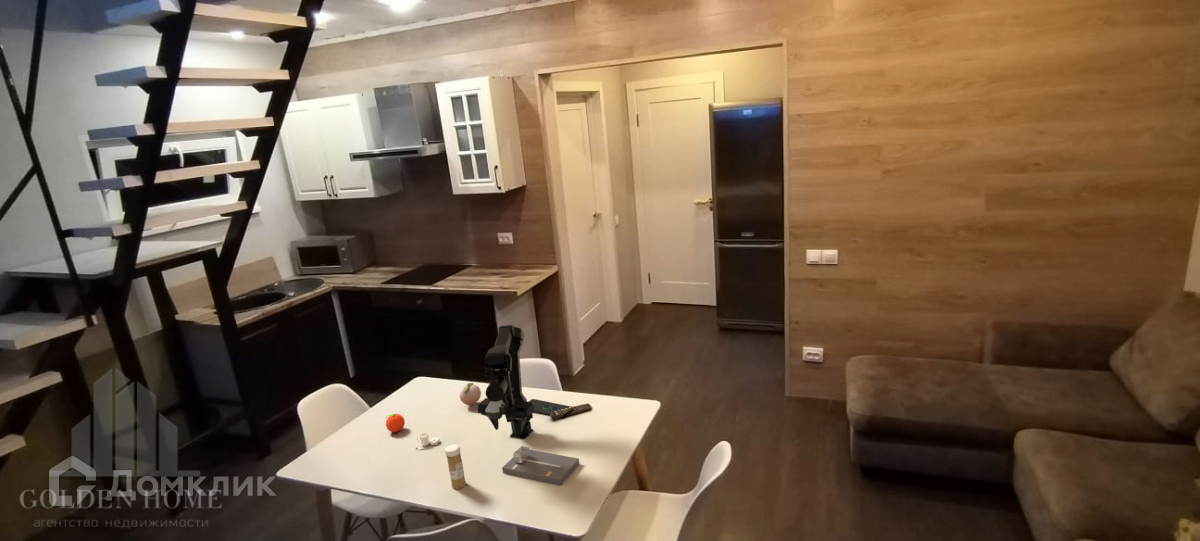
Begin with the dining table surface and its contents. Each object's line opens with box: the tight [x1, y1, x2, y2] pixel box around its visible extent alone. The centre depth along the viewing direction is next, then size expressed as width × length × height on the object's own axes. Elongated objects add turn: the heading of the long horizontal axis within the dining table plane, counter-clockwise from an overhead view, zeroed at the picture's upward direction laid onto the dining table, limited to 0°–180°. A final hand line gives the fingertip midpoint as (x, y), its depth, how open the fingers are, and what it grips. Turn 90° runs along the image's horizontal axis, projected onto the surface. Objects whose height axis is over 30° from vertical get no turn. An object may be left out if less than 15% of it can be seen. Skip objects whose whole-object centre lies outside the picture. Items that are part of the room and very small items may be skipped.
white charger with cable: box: [416, 432, 440, 446], centre depth 211 cm, size 9×8×4 cm
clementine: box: [385, 413, 406, 433], centre depth 224 cm, size 8×7×7 cm
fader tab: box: [512, 445, 531, 464], centre depth 191 cm, size 3×5×3 cm, turn 153°
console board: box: [501, 449, 580, 486], centre depth 188 cm, size 22×12×2 cm, turn 63°
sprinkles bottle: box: [444, 443, 467, 490], centre depth 183 cm, size 5×5×14 cm
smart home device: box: [528, 398, 572, 417], centre depth 228 cm, size 8×2×20 cm
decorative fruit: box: [459, 382, 482, 406], centre depth 238 cm, size 9×8×10 cm
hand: (509, 430), depth 192 cm, fingers open, 9 cm apart
